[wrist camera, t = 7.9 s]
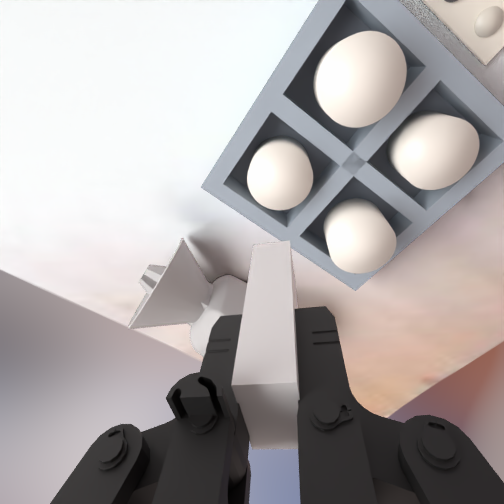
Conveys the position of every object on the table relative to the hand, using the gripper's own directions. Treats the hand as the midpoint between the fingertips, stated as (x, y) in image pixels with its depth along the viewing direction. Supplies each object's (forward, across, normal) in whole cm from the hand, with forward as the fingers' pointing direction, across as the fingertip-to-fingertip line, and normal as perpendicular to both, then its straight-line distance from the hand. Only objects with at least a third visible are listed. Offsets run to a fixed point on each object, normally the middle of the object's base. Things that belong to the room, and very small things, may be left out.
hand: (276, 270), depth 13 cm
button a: (+17, +12, 0) cm, 21 cm away
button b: (+15, +6, -6) cm, 17 cm away
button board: (+18, +6, 0) cm, 19 cm away
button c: (+15, +6, +6) cm, 17 cm away
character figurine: (+19, -8, -16) cm, 26 cm away
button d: (+17, 0, 0) cm, 17 cm away
